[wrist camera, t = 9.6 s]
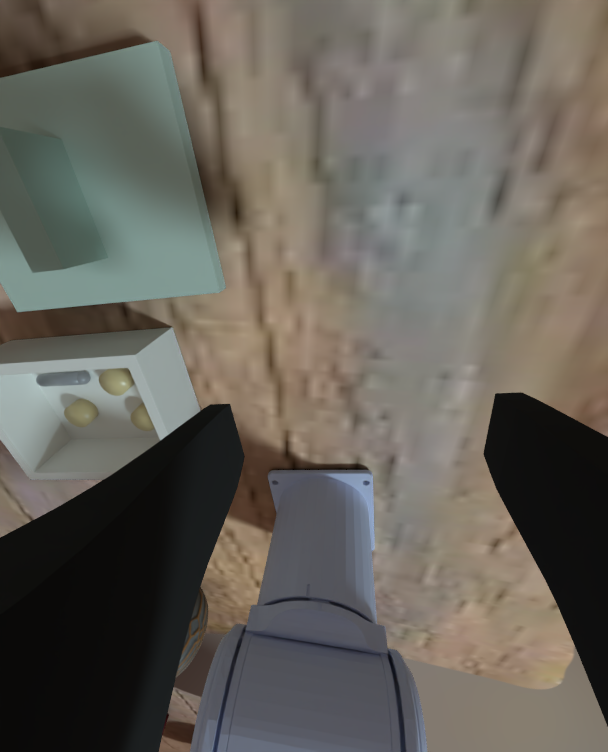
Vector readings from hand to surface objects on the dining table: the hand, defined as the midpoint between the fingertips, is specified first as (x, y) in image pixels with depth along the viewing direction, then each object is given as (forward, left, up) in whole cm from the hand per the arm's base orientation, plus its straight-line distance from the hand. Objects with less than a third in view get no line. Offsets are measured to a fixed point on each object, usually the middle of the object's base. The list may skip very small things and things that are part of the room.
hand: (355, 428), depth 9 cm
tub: (-4, +17, -10) cm, 20 cm away
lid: (+7, +13, -10) cm, 18 cm away
